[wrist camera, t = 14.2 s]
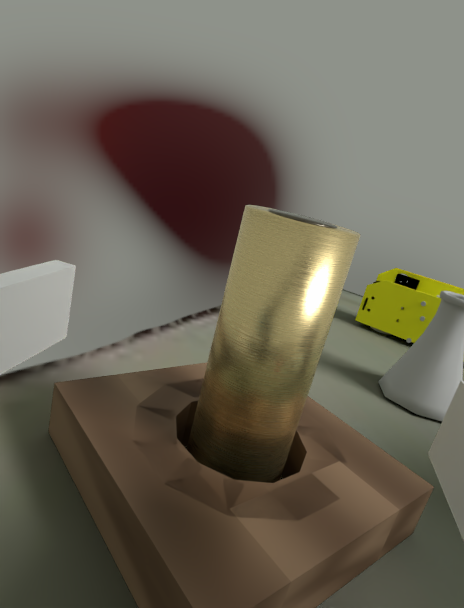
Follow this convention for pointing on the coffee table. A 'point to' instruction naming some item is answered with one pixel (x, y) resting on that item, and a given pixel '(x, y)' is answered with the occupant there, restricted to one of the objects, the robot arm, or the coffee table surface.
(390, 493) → the jig plate
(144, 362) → the coffee table surface
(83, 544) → the coffee table surface
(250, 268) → the cylinder
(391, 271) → the yellow toy chassis
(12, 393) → the coffee table surface
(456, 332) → the flask
